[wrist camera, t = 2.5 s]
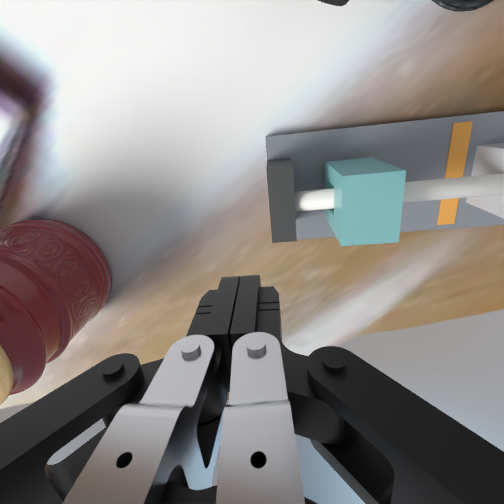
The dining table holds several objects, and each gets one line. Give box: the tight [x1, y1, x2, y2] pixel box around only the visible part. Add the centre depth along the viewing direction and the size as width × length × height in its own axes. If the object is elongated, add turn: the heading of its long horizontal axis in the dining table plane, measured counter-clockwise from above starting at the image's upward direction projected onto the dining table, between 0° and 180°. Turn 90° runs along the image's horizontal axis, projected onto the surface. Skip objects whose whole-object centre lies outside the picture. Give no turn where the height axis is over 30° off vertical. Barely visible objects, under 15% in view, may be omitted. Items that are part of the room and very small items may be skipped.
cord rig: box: [266, 111, 504, 243], centre depth 24 cm, size 10×22×8 cm, turn 96°
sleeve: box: [325, 157, 406, 246], centre depth 24 cm, size 5×4×7 cm
